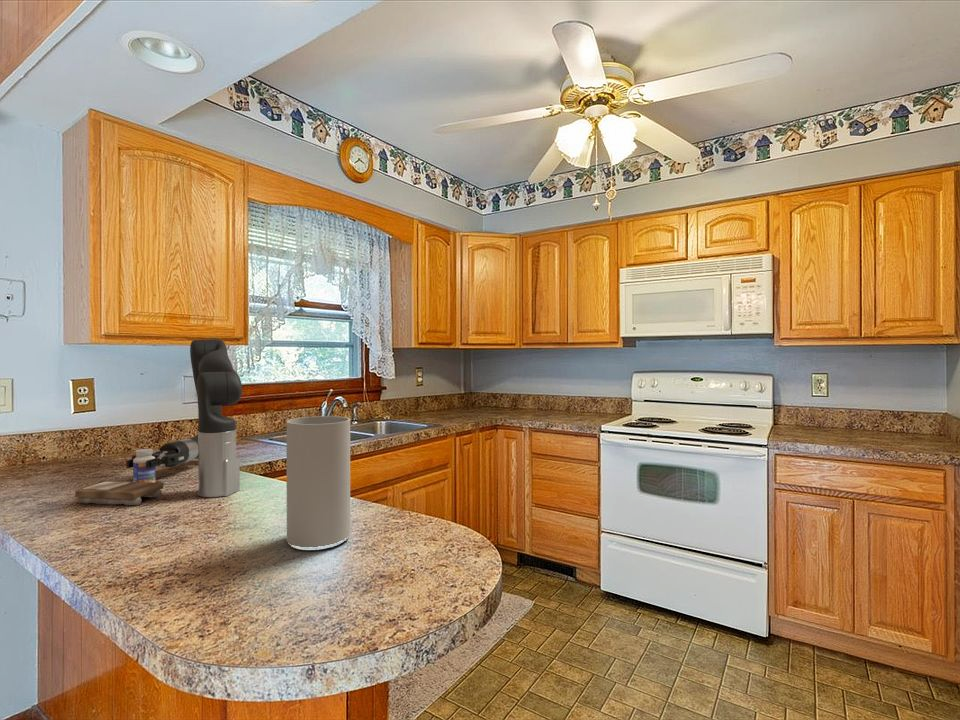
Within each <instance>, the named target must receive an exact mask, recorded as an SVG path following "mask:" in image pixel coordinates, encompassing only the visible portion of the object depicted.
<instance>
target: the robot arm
mask: <svg viewBox="0 0 960 720" xmlns="http://www.w3.org/2000/svg"><path fill="white" fill-rule="evenodd" d="M189 353H190V354H189V355H190V361H191V362H190V363H191V364H190V365H191V370H192V375H193V377H192V378H193V381H194V386H195V391H196V397H197V413H198V414H197V415H198V418H197V419H198V420H197V421H198V425H197V430H198V433H197V434H196V435H194V436H192V437H190V438H189V437H188V438H184V439H182V438H181V439H179V440H178V439H177V440H174V441H171V442H166V443H164V444H162V445H161V446H160V448H159V449H158V450H153V454H152V456H154V457H155V458H154V459H151V460H147V461H146V468H152V467H162V466H164V467H165V468H173V467H177V466H179V465H184V464H186V463H189V462H190V461H193V460H195V459H196V460H197V459H198V460H197V461H198V465H197V469H198V471H197V472H198V473H197V475H198V496H199V497H203V498H218V497H228V496H230V495H232V494H234V493H236V492H238V491H240V472H241V471H240V470H241V469H240V456H238V455H237V422H236V420H235V419H234V418H232V417H230V416H225V415H223V412H222V409H223V408H222V406H231V405H236V404H237V403H238V402H239V401H240V400H241V398H242V395H243V384H242V380H241V378H240V376H239V374H238V373H237V371H236V370H235V369H234V367H233V363H232V361H231V360H230V357H229V355H228V354H229V353H228V349H227V345H226V343H225V341H224V340H221V339H218V338H210V339H209V338H208V339H205V338H204V339H193V340H192V341H191V343H190V346H189ZM136 457H137V456H136V454H134V455H132V456H131V458H130V459H127V460H126V462H125V465H126V468H127V469H130V468H133V460H134V459H135V458H136Z"/></svg>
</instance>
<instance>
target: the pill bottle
mask: <svg viewBox="0 0 960 720" xmlns="http://www.w3.org/2000/svg"><path fill="white" fill-rule="evenodd" d="M153 452H154V450H153V448H139V449H136V450H135V455H136V456H137V457H136V458H135V459H134V460H133V467H132V479H133V480H132V482H157V480H156V479H157V478H156V476H157V475H156V474H157V472H156V467H157V466H156V467H152V468H146V461H147V460H151V459H154V458H155V457H154V456H152V454H153Z"/></svg>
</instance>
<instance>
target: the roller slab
mask: <svg viewBox="0 0 960 720" xmlns="http://www.w3.org/2000/svg"><path fill="white" fill-rule="evenodd" d="M163 488H164V482H158V481H155V482H133V481H124V480H123V481H120V480H106V481H103V482H100V483H96V484H92V485H91V486H90V485H89V486H86V487H83V488H80V489H78V490H75V491H74V493H75V495H74V496H75V497H76V498H77V499H76V500H77V503H78V504H88V503H99V504H98V505H115V504H124V505H123V506H139V505H138V504H140V505H141V504H142V497H143V498H160V497H161V496H162V494H163V493H162V489H163Z"/></svg>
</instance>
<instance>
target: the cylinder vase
mask: <svg viewBox="0 0 960 720" xmlns="http://www.w3.org/2000/svg"><path fill="white" fill-rule="evenodd" d="M285 423H286V428H285V429H286V431H285V432H286V437H285V438H286V443H285V444H286V543H287V542H288V543H289V544H291V545H295V546H300V547H318V546H325V545H330V544H334V543H337V542H339V541H341V540H344V539H345V538H347V537H348V536H349V535H350V536H351V418H349V417H346V416H338V415H337V416H335V415H334V416H333V415H317V416H315V415H313V416H303V417H297V418H290V419H287V420H286V421H285ZM288 543H287V544H288Z"/></svg>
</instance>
